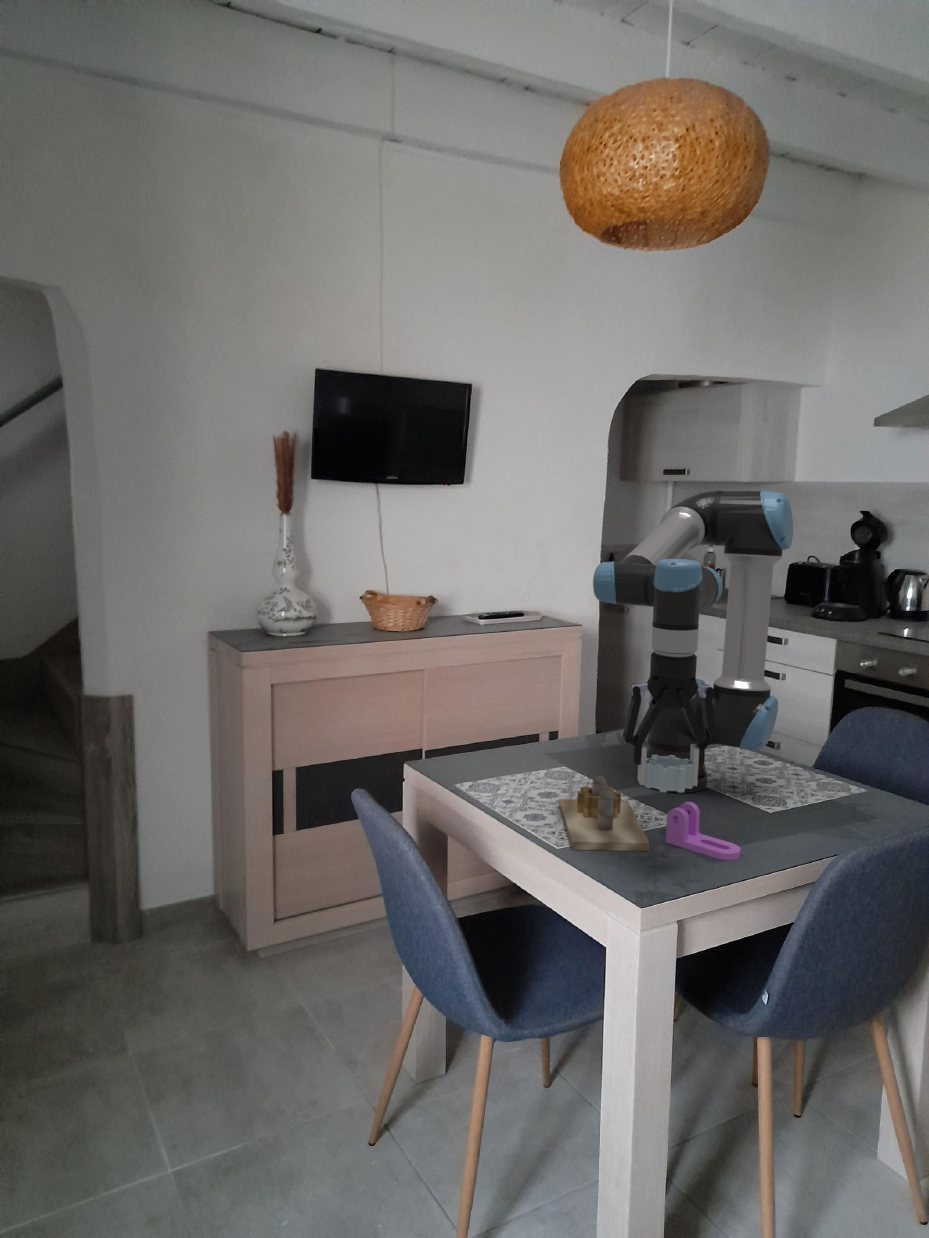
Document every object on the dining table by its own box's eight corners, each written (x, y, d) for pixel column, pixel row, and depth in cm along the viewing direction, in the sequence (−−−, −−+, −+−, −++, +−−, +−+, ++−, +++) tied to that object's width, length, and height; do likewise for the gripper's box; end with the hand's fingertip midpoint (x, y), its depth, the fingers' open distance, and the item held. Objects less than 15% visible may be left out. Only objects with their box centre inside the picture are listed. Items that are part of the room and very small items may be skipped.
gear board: (627, 807, 181) (629, 766, 180) (649, 850, 160) (651, 804, 158) (559, 806, 181) (560, 764, 180) (571, 849, 160) (573, 802, 158)
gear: (684, 777, 155) (686, 755, 154) (697, 792, 147) (698, 769, 146) (638, 776, 155) (639, 754, 154) (648, 792, 147) (649, 768, 146)
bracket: (665, 843, 164) (667, 807, 163) (680, 834, 168) (682, 799, 167) (731, 863, 155) (733, 825, 154) (745, 854, 159) (747, 817, 158)
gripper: (730, 649, 151) (722, 776, 155) (607, 647, 151) (602, 774, 155) (743, 657, 144) (735, 791, 147) (614, 655, 144) (609, 789, 147)
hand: (667, 782), depth 151 cm, fingers closed on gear, 8 cm apart
